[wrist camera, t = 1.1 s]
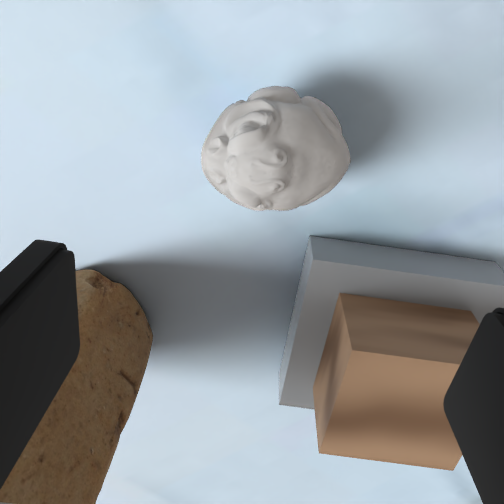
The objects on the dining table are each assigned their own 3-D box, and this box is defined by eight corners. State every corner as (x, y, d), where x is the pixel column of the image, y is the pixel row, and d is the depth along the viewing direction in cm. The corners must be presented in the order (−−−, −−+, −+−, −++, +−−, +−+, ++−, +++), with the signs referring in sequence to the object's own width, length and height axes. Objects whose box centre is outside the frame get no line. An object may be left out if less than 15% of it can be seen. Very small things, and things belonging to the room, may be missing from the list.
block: (117, 250, 29) (-129, 621, 11) (171, 333, 32) (43, 722, 14) (-11, 298, 31) (-376, 664, 14) (51, 371, 34) (-182, 741, 17)
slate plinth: (309, 235, 27) (312, 259, 25) (495, 261, 28) (518, 288, 25) (278, 373, 33) (279, 404, 31) (432, 394, 34) (445, 426, 31)
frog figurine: (217, 71, 23) (195, 93, 17) (348, 81, 23) (374, 107, 17) (214, 180, 26) (195, 232, 20) (331, 189, 26) (348, 244, 20)
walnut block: (339, 292, 26) (352, 349, 22) (471, 310, 26) (509, 371, 22) (312, 388, 30) (318, 453, 25) (427, 403, 30) (453, 470, 26)
